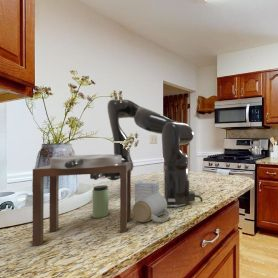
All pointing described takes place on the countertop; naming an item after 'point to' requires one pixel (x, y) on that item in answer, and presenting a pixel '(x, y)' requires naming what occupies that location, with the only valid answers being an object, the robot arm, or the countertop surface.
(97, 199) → the spice bottle
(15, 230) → the countertop surface
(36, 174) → the pan stand
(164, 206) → the ceramic mug
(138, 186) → the medicine box
